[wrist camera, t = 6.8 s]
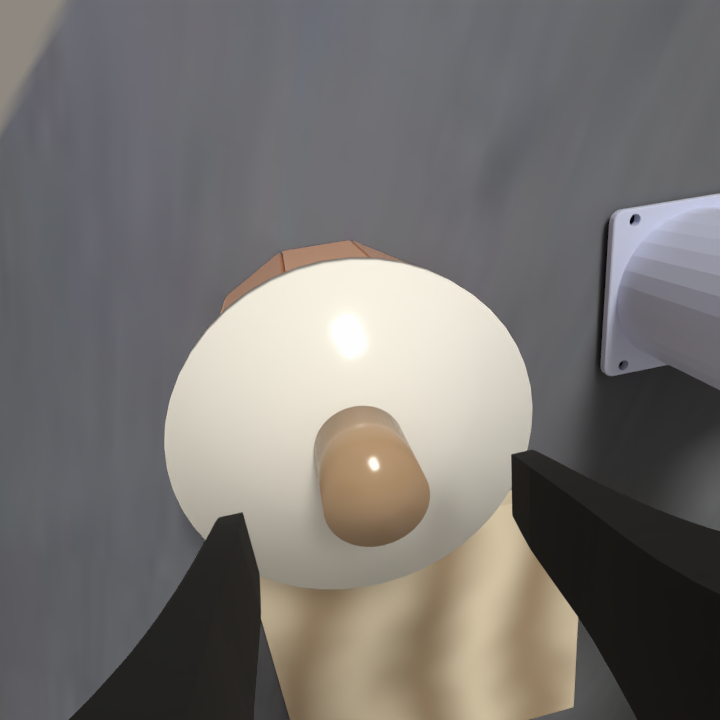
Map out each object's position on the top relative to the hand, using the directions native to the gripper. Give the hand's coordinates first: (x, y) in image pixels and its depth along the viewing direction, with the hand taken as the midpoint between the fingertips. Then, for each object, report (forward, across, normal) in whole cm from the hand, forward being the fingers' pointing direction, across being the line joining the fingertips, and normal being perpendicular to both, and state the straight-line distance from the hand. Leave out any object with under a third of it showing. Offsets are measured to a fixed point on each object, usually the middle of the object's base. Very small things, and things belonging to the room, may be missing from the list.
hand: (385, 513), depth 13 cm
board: (+10, -3, +18) cm, 21 cm away
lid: (+5, 0, +1) cm, 5 cm away
